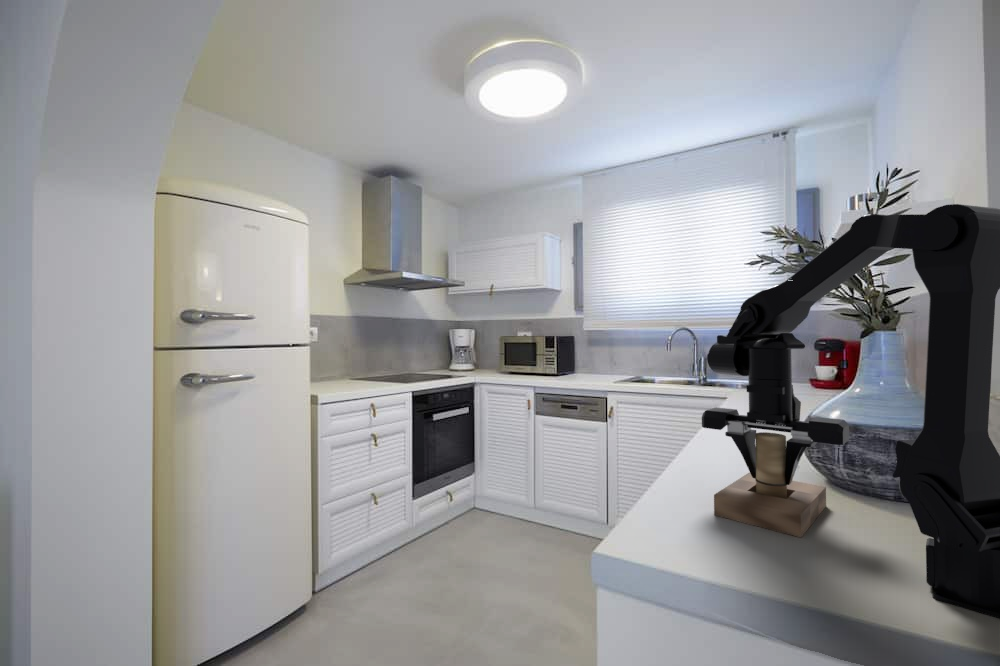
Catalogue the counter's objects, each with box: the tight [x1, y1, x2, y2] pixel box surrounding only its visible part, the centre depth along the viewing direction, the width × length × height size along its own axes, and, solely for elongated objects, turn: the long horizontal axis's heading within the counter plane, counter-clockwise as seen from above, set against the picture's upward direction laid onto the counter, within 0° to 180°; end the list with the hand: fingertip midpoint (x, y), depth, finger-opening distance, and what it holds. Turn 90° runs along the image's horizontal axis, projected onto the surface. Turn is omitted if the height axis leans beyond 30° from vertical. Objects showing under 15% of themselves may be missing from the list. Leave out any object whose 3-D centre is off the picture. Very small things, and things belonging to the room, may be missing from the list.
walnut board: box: [713, 472, 827, 538], centre depth 69 cm, size 11×16×3 cm
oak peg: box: [755, 431, 787, 499], centre depth 69 cm, size 4×4×10 cm
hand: (771, 480), depth 69 cm, fingers closed on oak peg, 4 cm apart
